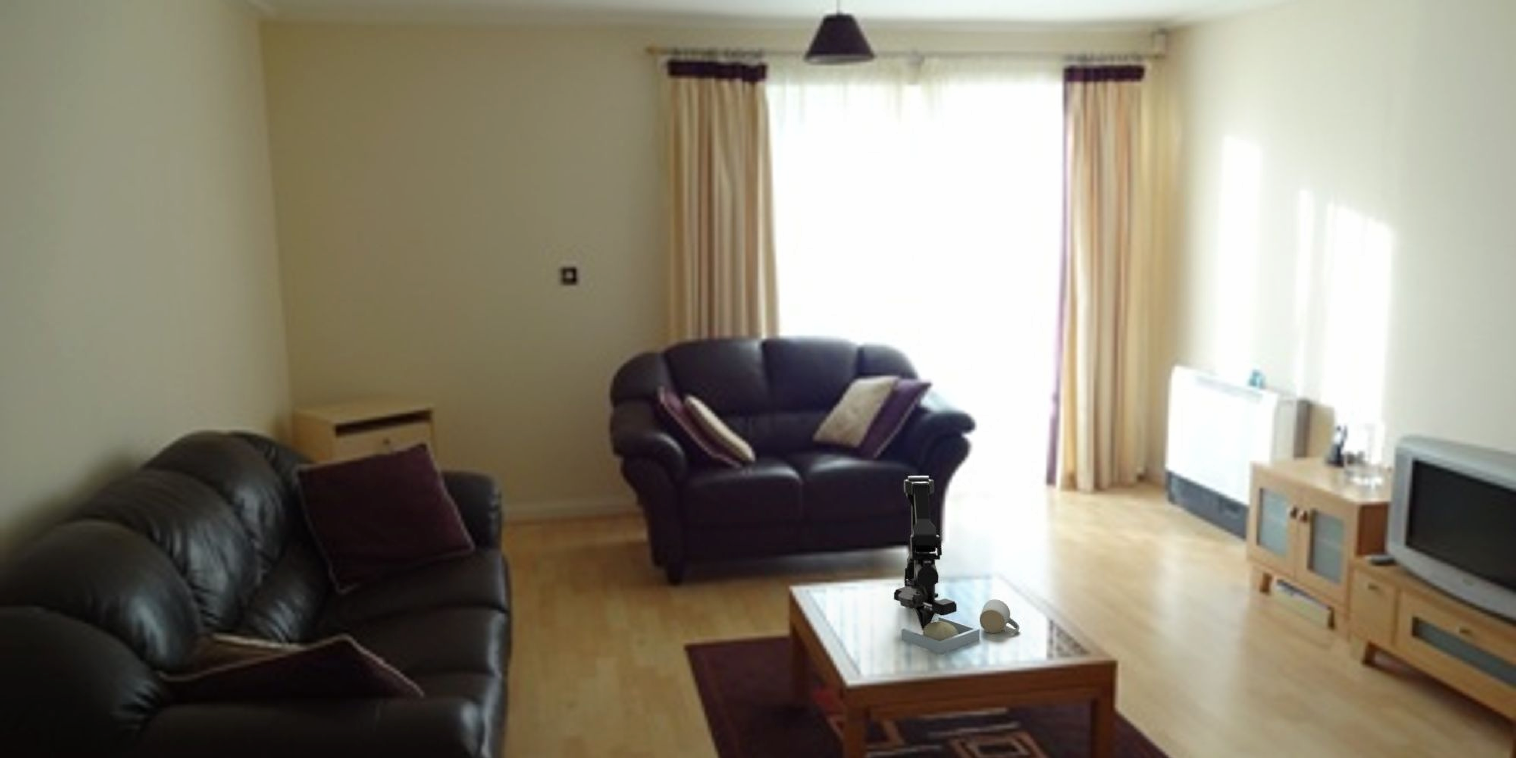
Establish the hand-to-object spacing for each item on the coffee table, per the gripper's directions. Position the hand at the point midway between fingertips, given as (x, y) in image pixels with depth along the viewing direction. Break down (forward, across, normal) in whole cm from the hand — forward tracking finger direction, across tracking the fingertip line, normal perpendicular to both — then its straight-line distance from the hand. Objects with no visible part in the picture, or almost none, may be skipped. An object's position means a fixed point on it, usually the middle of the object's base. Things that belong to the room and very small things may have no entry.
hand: (924, 630), depth 294 cm
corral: (+1, +5, 0) cm, 5 cm away
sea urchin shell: (+1, +6, 0) cm, 6 cm away
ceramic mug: (+1, +11, +18) cm, 21 cm away
